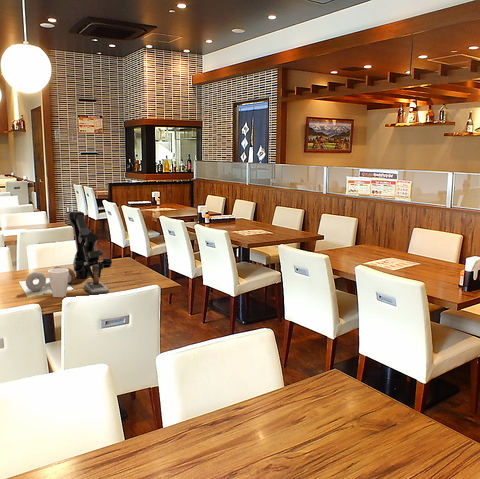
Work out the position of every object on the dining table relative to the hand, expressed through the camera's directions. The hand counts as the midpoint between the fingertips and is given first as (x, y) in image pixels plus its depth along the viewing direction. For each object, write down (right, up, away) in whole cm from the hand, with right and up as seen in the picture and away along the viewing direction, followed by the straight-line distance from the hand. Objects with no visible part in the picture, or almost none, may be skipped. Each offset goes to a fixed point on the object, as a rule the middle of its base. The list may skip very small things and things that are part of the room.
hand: (96, 278), depth 247 cm
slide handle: (-1, -5, +2) cm, 5 cm away
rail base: (-1, -6, +2) cm, 7 cm away
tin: (-23, -4, +15) cm, 28 cm away
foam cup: (-16, -8, -9) cm, 20 cm away
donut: (-30, -7, -1) cm, 31 cm away
